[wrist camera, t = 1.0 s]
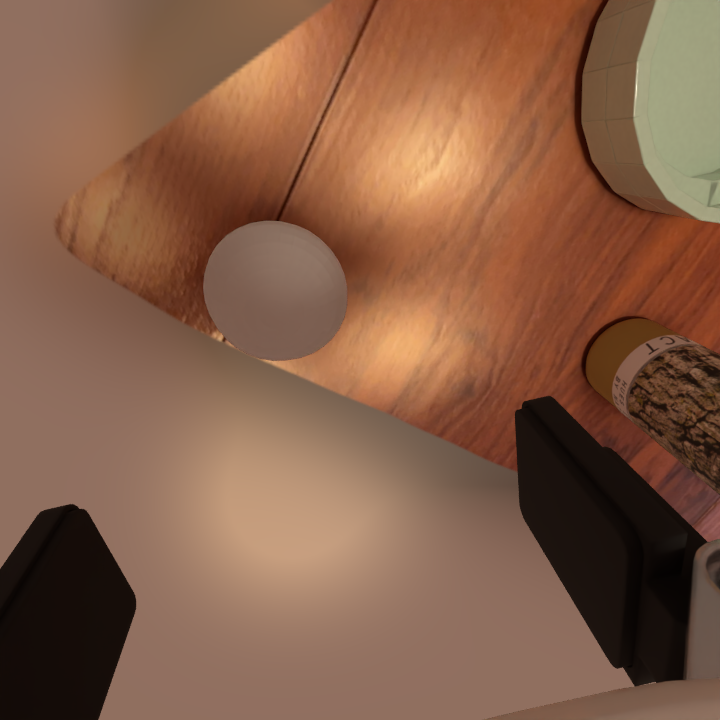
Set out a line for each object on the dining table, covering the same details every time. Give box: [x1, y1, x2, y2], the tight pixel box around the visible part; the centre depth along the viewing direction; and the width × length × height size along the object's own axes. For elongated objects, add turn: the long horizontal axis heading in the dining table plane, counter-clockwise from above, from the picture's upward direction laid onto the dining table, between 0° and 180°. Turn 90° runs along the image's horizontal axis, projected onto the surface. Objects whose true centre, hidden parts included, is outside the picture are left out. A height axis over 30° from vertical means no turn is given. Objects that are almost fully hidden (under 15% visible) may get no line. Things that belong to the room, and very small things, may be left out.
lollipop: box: [203, 221, 347, 361], centre depth 25 cm, size 6×6×15 cm
